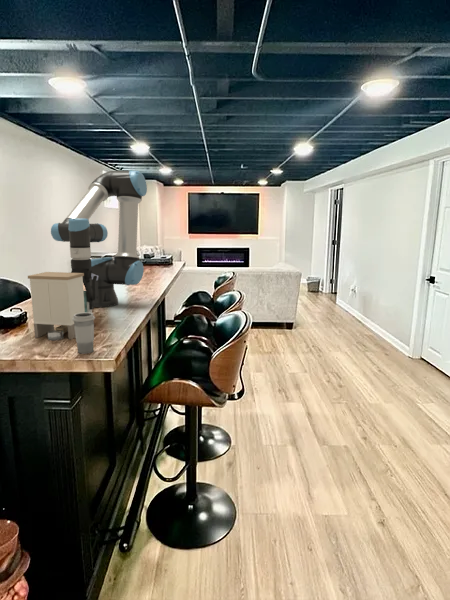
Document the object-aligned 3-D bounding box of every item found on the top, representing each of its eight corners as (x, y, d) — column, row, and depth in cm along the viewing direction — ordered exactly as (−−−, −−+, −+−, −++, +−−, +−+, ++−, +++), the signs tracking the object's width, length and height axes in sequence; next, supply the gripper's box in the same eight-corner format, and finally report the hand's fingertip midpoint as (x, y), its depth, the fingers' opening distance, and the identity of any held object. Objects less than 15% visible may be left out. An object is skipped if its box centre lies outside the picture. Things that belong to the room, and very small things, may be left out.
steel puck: (54, 336, 139) (53, 329, 139) (66, 337, 138) (65, 330, 138) (44, 340, 135) (44, 333, 134) (57, 341, 134) (57, 334, 133)
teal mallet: (82, 319, 158) (80, 290, 156) (91, 319, 158) (90, 290, 156) (54, 332, 139) (51, 299, 137) (64, 333, 138) (62, 300, 136)
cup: (93, 354, 120) (91, 317, 118) (71, 355, 120) (68, 317, 117) (99, 347, 127) (97, 311, 125) (78, 347, 127) (75, 312, 124)
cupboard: (51, 329, 148) (46, 271, 143) (87, 331, 146) (83, 273, 141) (33, 337, 137) (27, 275, 133) (72, 339, 135) (67, 277, 131)
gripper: (55, 258, 149) (59, 318, 153) (97, 260, 146) (100, 320, 151) (65, 257, 156) (69, 314, 161) (105, 258, 154) (108, 315, 158)
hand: (84, 316), depth 156 cm, fingers closed on teal mallet, 4 cm apart
